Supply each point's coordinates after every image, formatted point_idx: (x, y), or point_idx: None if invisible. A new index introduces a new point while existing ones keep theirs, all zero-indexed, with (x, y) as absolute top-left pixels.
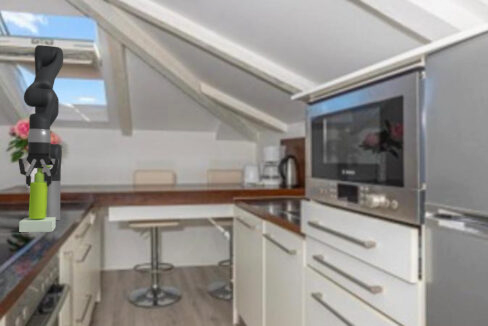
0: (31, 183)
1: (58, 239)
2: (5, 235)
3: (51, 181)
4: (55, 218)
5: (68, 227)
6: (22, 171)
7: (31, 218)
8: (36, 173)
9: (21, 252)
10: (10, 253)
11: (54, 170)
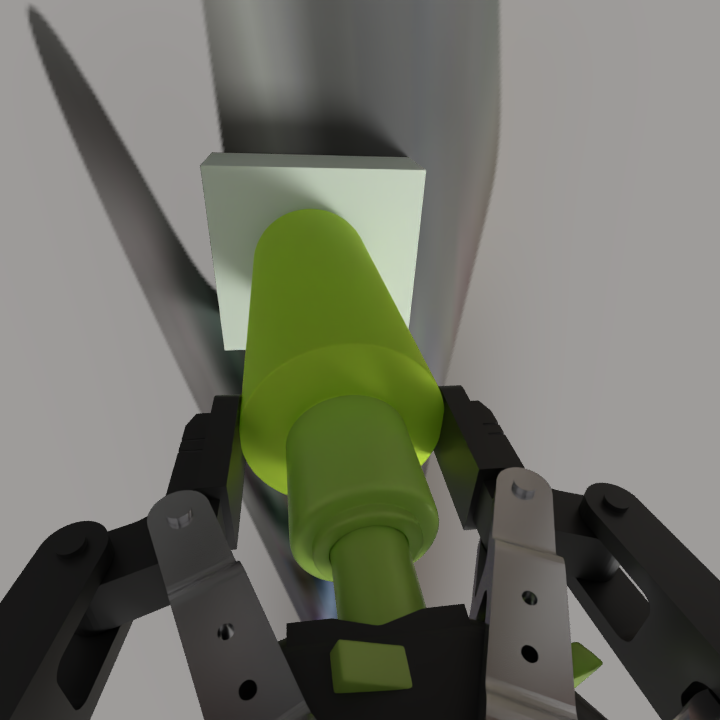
0: (268, 483)
1: (424, 472)
2: (186, 374)
3: (496, 432)
4: (422, 176)
5: (485, 181)
6: (101, 640)
7: (261, 215)
8: (325, 571)
9: (333, 598)
10: (307, 604)
11: (603, 607)
